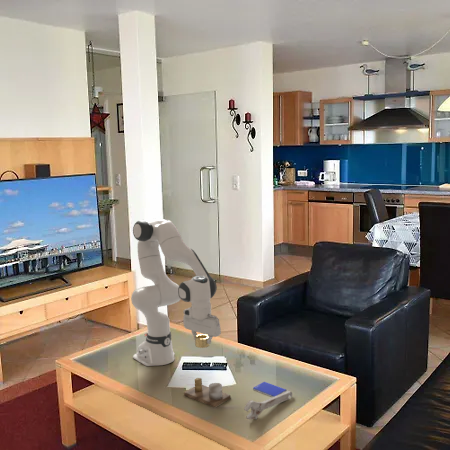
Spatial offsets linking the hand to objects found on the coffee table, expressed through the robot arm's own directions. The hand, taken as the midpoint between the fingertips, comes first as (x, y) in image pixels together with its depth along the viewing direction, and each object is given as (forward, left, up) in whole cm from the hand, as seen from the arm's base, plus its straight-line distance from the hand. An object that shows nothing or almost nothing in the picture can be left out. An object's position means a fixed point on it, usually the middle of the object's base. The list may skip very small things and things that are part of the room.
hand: (202, 341), depth 246 cm
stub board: (+12, -11, -19) cm, 25 cm away
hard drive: (+30, +10, -20) cm, 37 cm away
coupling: (0, 0, -2) cm, 2 cm away
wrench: (+40, -4, -19) cm, 44 cm away
